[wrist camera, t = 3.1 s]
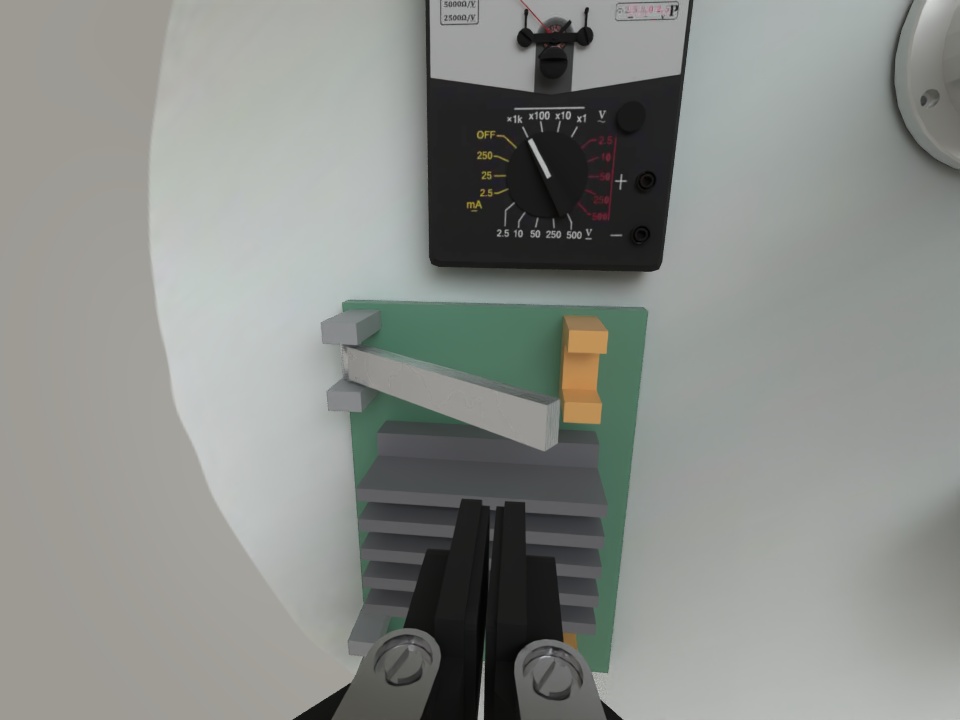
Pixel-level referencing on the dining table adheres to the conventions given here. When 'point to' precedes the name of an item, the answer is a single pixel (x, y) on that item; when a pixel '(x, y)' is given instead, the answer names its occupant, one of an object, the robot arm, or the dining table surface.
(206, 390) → the dining table surface
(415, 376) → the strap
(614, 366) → the cooler board
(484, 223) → the multimeter
